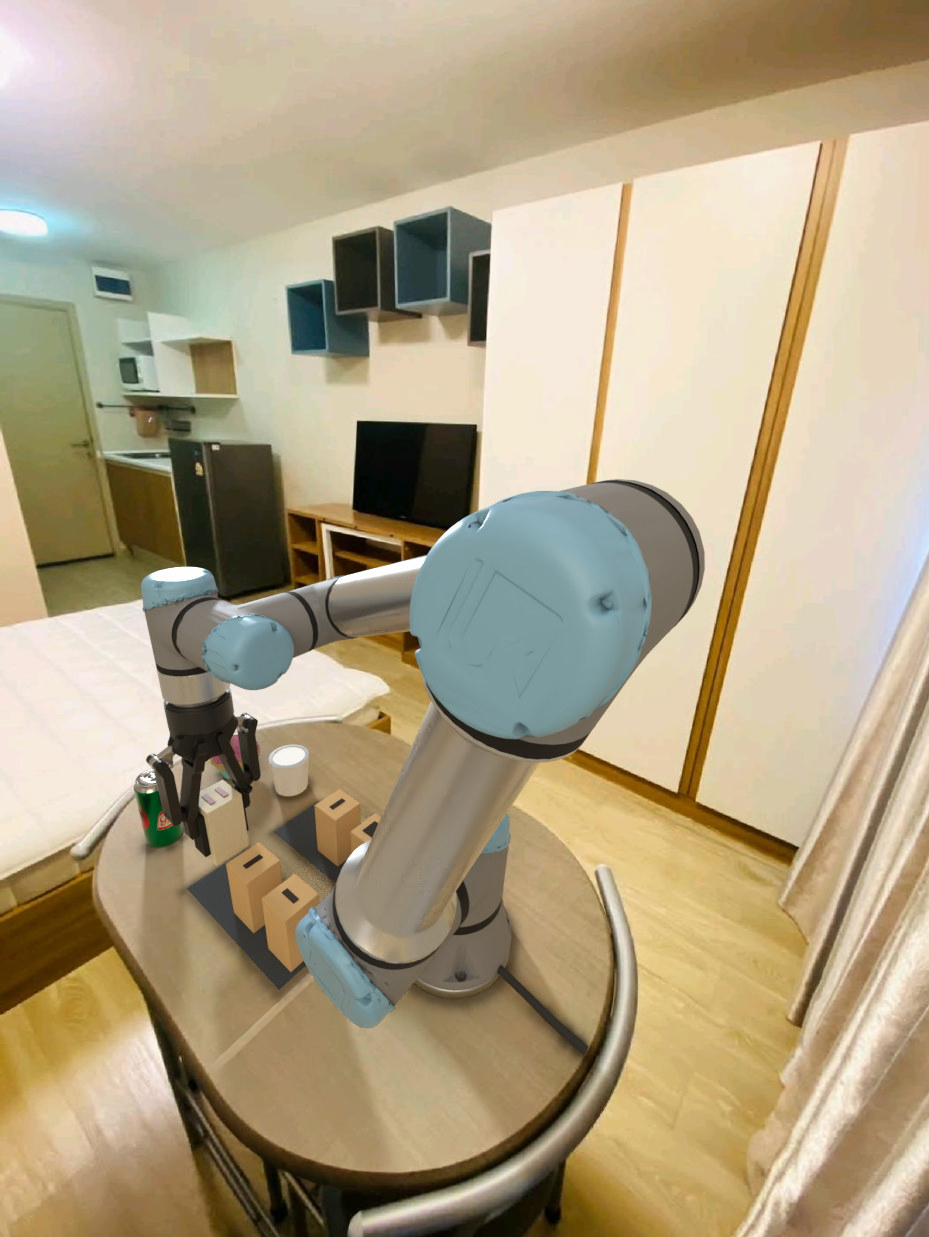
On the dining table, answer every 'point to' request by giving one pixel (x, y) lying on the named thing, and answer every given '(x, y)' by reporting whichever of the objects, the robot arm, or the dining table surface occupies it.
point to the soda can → (154, 812)
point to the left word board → (233, 926)
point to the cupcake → (235, 745)
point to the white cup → (290, 769)
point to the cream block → (223, 821)
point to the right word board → (307, 841)
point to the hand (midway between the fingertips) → (222, 838)
